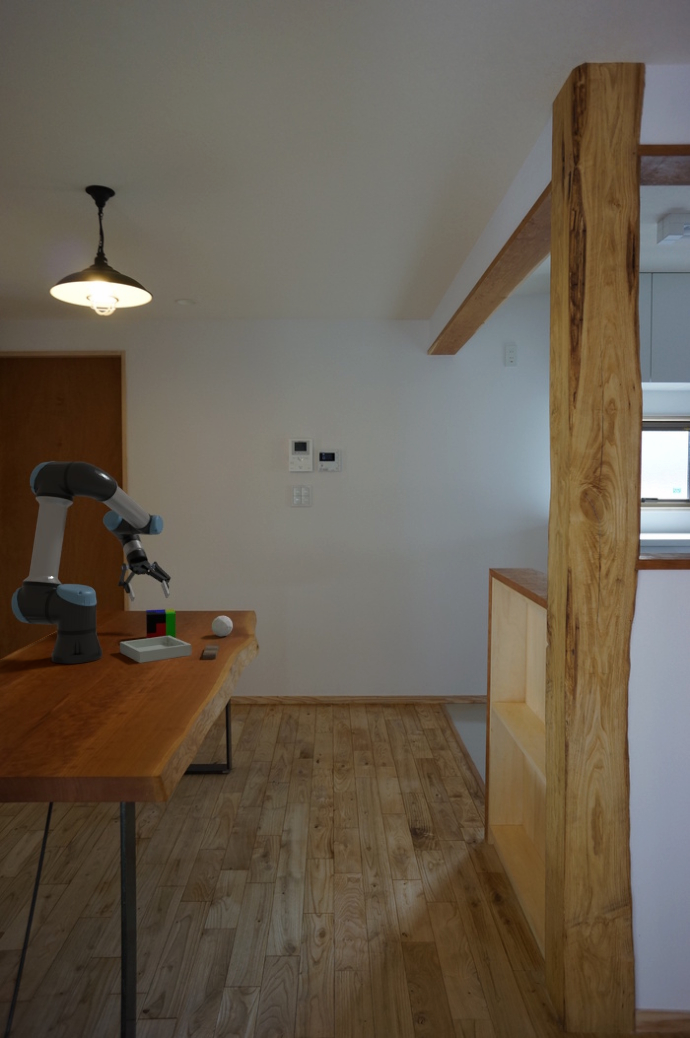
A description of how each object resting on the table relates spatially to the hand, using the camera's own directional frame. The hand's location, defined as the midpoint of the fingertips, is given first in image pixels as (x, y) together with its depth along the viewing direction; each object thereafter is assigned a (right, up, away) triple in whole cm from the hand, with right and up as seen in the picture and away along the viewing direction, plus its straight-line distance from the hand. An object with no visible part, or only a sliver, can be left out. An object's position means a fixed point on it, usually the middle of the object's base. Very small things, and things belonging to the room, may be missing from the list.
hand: (150, 597), depth 253 cm
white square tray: (+10, -15, -31) cm, 36 cm away
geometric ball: (+27, -14, -2) cm, 31 cm away
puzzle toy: (+6, -14, -7) cm, 17 cm away
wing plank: (+29, -16, -31) cm, 45 cm away
